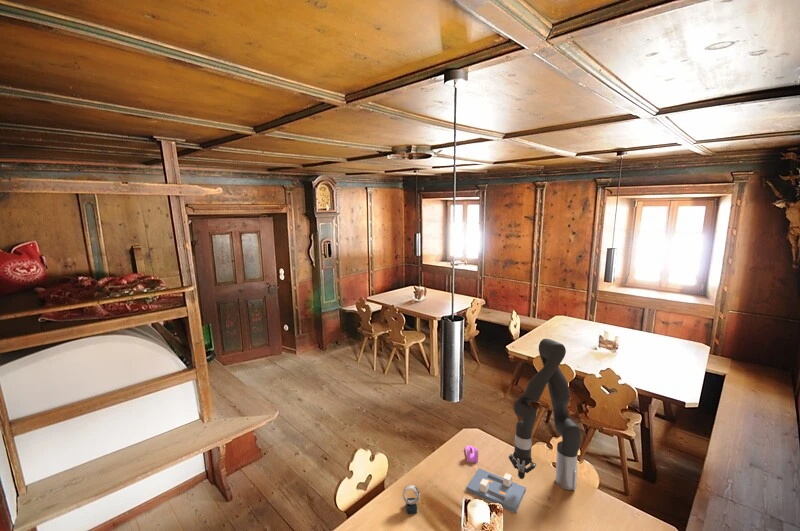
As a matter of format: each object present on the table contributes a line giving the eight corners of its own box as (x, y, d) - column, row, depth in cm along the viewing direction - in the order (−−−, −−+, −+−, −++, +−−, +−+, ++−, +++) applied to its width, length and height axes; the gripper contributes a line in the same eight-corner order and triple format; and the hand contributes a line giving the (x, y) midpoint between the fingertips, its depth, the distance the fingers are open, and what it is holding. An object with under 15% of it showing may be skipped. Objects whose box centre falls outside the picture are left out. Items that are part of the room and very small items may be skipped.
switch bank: (525, 491, 169) (525, 487, 169) (515, 513, 156) (515, 509, 156) (479, 471, 183) (479, 467, 182) (466, 490, 170) (466, 486, 169)
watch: (421, 512, 157) (421, 490, 156) (403, 514, 156) (403, 492, 154) (419, 503, 162) (418, 481, 161) (402, 504, 161) (401, 483, 160)
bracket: (477, 462, 190) (478, 450, 189) (467, 462, 190) (467, 450, 189) (474, 447, 203) (474, 436, 202) (464, 447, 203) (464, 436, 202)
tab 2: (511, 482, 172) (511, 475, 171) (509, 487, 168) (509, 480, 168) (505, 480, 173) (505, 472, 173) (503, 484, 170) (503, 477, 170)
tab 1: (488, 488, 168) (488, 480, 168) (485, 493, 165) (485, 485, 164) (482, 485, 170) (483, 478, 169) (479, 490, 167) (479, 483, 166)
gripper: (539, 445, 164) (537, 479, 165) (511, 435, 171) (510, 467, 173) (535, 453, 158) (533, 488, 159) (506, 442, 165) (505, 476, 167)
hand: (521, 477), depth 166 cm, fingers closed
